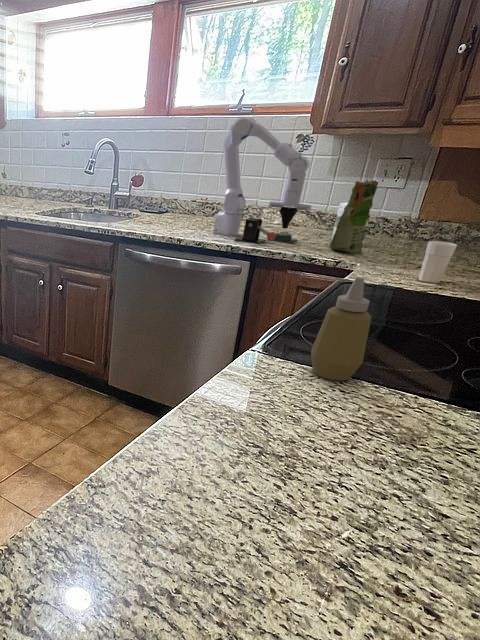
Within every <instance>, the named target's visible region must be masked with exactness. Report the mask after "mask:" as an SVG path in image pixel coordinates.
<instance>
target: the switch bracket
mask: <svg viewBox="0 0 480 640" xmlns="http://www.w3.org/2000/svg"><path fill="white" fill-rule="evenodd" d="M252 219H254V220H252ZM258 223H259V224H258ZM258 225H259V226H260V227H262V225H263V219H262V218H254V217H250V218H246V219H245V223H244V230H243V232H242V236H240V237H237V238H234V242H240V243H248V244H254V245H260V244H262V243H265V242H266V241H267V239H264V238H260V234H261V231H260V230H258V229H257V227H258Z"/></svg>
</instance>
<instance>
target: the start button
mask: <svg viewBox="0 0 480 640" xmlns="http://www.w3.org/2000/svg"><path fill="white" fill-rule="evenodd" d="M278 233H279V235H288V234H289V231H288V230H286V229H280V230H279V232H278Z"/></svg>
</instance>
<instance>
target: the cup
mask: <svg viewBox="0 0 480 640" xmlns="http://www.w3.org/2000/svg"><path fill="white" fill-rule="evenodd" d="M457 246H458V244H457V243H453V242H449V241H442V240H429V241H427V245H426V248H425V251H424V252H425V254H424V257H423V260H422V264H421V268H420V271H419V275H418V278H417V280H419V281H421V282H425V283H432V284H433V283H434V284H438V283H441V281H442V278H443V277H444V274H445V272H446V270H447V268H448V266H449V263H450V262H451V258H452V257H453V255H454V253H455V251H456V249H457Z"/></svg>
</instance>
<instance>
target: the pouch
mask: <svg viewBox="0 0 480 640" xmlns="http://www.w3.org/2000/svg"><path fill="white" fill-rule="evenodd" d="M378 184H379V181H376V180H368V179H366V180H365V181H359V180H357V181H355V182H354V186H353V187H352V189H351V194H350V197H349V199H348V202H347V203H348V204H347V205H346V207H345V208H344V212H343V214H342V216H341V217H340V219H339V222H338V224H337V228H336V231H335V234H334V236H333V239H332V240H331V241H330V244H329V246H328V247H329V248H330V249H331V250H332V251H333V250H334V251H341V252H344V253H345V252H346V253H349V254H351V255H358V254H361V253H362V252H363V248H364V244H363V243H364V242H363V241H364V240H365V236H366V233H367V229H366V224H367V221H368V220H369V219H370V218H371V216H370V212H371V210H372V209H371V208H372V207H373V205H374V204H373V201H374V197H375V195H376V191H377V190H378Z"/></svg>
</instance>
